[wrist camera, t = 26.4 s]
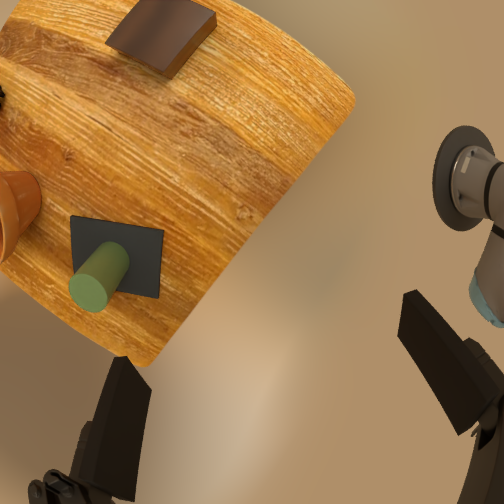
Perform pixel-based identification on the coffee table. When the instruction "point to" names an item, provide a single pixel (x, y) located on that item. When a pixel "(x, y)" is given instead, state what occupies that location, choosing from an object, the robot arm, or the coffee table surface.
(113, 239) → the slate mat
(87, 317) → the coffee table surface
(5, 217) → the flower pot
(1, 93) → the figurine
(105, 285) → the green canister
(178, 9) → the dark brown square block
